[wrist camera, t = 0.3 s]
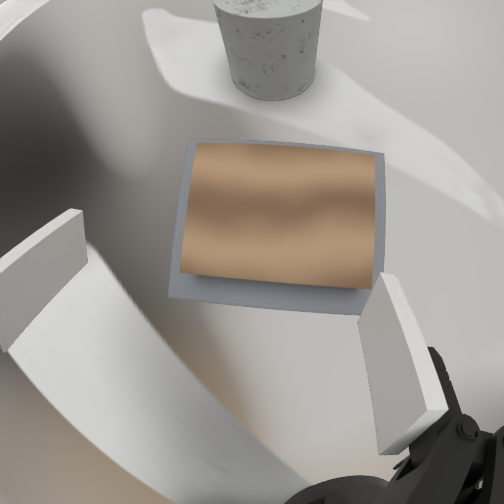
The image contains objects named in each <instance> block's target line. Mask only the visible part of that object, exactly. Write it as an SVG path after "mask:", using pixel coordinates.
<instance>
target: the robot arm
mask: <svg viewBox="0 0 504 504" xmlns="http://www.w3.org/2000/svg"><path fill="white" fill-rule="evenodd" d="M87 263H88V259H87V251H86V242H85V233H84V222H83V211H81V210H76V209H69V210H68V211H66V212H65V213H63V214H61V215H60V216H58V217H57V218H55V219H54V220H52V221H51V222H49V223H48V224H47V225H45V226H43V227H42V228H41V229H39V230H38V231H37V232H35V233H34V234H32V235H31V236H29V237H28V238H27V239H25V240H24V241H23V242H21V243H20V244H19V245H17V246H16V247H15V248H13V249H12V250H11V251H9V252H8V253H7V254H6V255H4V256H2V257H0V350H1V351H2V352H4V353H5V352H6V351H7V350H8V349H9V347H10V346H11V345H12V344H13V343H14V341H15V340H16V339H17V338H18V337H19V335H20V334H21V333H22V332H23V331H24V330H25V328H26V327H27V326H28V325H29V324H30V323H31V322H32V320H33V319H34V318H35V317H36V316H37V315H38V314H39V313H40V311H41V310H42V309H43V308H44V307H45V306H46V305H47V304H48V303H49V302H50V301H51V300H52V298H53V297H54V296H55V295H56V294H57V293H58V292H59V291H60V290H61V289H62V288H63V287H64V286H65V285H66V284H67V283H68V282H69V281H70V280H71V279H72V278H73V277H74V276H75V275H76V274H77V273H78V272H79V271H80V270H81V269H82V268H83V267H84V266H85V265H86V264H87ZM357 323H358V328H359V332H360V338H361V343H362V348H363V353H364V358H365V364H366V369H367V374H368V381H369V387H370V393H371V400H372V406H373V413H374V420H375V428H376V436H377V445H378V454H379V455H398V454H400V453H401V452H402V451H403V450H405V449H406V448H407V447H408V446H409V452H410V455H409V456H408V457H406V458H405V459H404V460H402V461H401V462H400V463H398V464H397V465H396V466H395V467H394V468H393V469H394V470H396V469H397V468H399V469H398V470H397V472H396V474H395V475H394V476H393V478H392V479H391V480H390V482H388V481H386V480H384V479H381V478H378V477H373V476H362V475H358V476H347V477H340V478H335V479H331V480H327V481H324V482H321V483H318V484H316V485H313V486H311V487H309V488H307V489H305V490H303V491H301V492H300V493H298V494H297V495H295V496H294V497H292V498H291V499H290V500H289V501H288V502H287V503H286V504H504V426H503V427H501V428H500V429H498V430H497V431H496V432H495V433H494V434H492V433H488V432H484V431H480V429H479V426H478V425H477V423H476V421H475V420H474V419H473V418H472V417H470V416H468V415H466V414H462V412H461V409H460V406H459V403H458V400H457V397H456V395H455V392H454V389H453V386H452V383H451V381H450V380H449V375H448V373H447V371H446V367H445V365H444V362H443V360H442V357H441V356H440V355H439V354H438V352H437V351H436V350H435V349H434V348H433V347H427V346H426V343H425V341H424V338H423V336H422V334H421V331H420V329H419V326H418V324H417V321H416V319H415V317H414V314H413V312H412V310H411V307H410V305H409V303H408V301H407V299H406V296H405V294H404V292H403V290H402V287H401V285H400V283H399V281H398V279H397V277H396V276H395V275H391V274H386V273H382V272H380V274H379V276H378V278H377V281H376V283H375V285H374V287H373V290H372V292H371V294H370V296H369V299H368V301H367V303H366V305H365V307H364V309H363V312H362V314H361V316H360V318H359V320H358V322H357ZM482 480H483V483H482V488H480V489H479V482H481V481H482Z"/></svg>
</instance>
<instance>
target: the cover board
mask: <svg viewBox="0 0 504 504" xmlns="http://www.w3.org/2000/svg"><path fill="white" fill-rule="evenodd" d="M374 242H375V158H374V155H368V154H361V153H354V152H346V151H338V150H329V149H319V148H309V147H298V146H285V145H269V144H248V143H197V145H196V151H195V157H194V163H193V169H192V176H191V183H190V189H189V197H188V204H187V212H186V219H185V228H184V236H183V245H182V254H181V264H180V273H187V274H196V275H206V276H216V277H226V278H236V279H247V280H258V281H269V282H280V283H292V284H304V285H317V286H330V287H344V288H359V289H372V277H373V262H374Z"/></svg>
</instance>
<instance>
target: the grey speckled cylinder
mask: <svg viewBox="0 0 504 504" xmlns="http://www.w3.org/2000/svg"><path fill="white" fill-rule="evenodd" d="M212 2H213V4H214V8H215V11H216V15H217V19H218V23H219V27H220V30H221V34H222V38H223V42H224V46H225V50H226V53H227V57H228V61H229V65H230V69H231V76H232V79H233V82H234V83H235V84H236V86H237V87H238V88H239V89H240V90H241V91H243V92H244V93H245V94H247V95H249V96H251V97H254V98H258V99H261V100H270V101H274V100H284V99H288V98H292V97H294V96H296V95H299V94H300V93H302V92H303V91H305V90H306V89H307V88H308V87H309V85H310V84H311V83H312V81H313V78H314V73H315V60H316V52H317V44H318V36H319V28H320V20H321V11H322V2H323V0H212Z"/></svg>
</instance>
